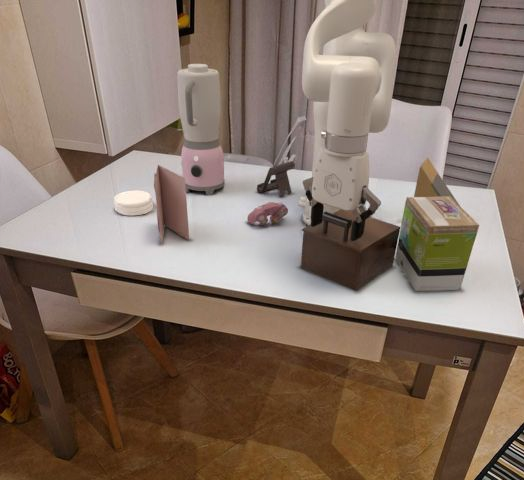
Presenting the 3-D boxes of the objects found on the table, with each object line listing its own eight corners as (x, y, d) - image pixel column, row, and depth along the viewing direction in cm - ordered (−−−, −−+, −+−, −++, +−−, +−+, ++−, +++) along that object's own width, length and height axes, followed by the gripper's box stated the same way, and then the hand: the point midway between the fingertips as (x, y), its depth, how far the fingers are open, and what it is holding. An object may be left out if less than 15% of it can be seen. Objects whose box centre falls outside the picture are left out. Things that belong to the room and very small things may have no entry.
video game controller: (251, 233, 127) (257, 214, 121) (244, 219, 128) (250, 200, 122) (285, 226, 130) (292, 207, 124) (278, 213, 132) (285, 194, 126)
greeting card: (161, 225, 126) (154, 164, 117) (190, 224, 127) (186, 164, 117) (157, 244, 117) (149, 181, 108) (189, 244, 118) (184, 180, 108)
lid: (361, 253, 96) (364, 228, 93) (301, 231, 103) (303, 207, 100) (400, 229, 105) (404, 206, 102) (342, 210, 112) (345, 189, 109)
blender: (191, 179, 154) (183, 60, 134) (229, 182, 152) (227, 63, 132) (173, 196, 142) (161, 69, 122) (214, 201, 140) (209, 72, 120)
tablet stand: (277, 185, 151) (278, 156, 146) (296, 191, 147) (298, 162, 142) (256, 192, 146) (257, 163, 141) (276, 199, 142) (277, 169, 136)
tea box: (392, 258, 113) (405, 195, 104) (435, 257, 114) (451, 194, 105) (414, 292, 102) (430, 224, 93) (461, 291, 102) (482, 223, 93)
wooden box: (356, 291, 102) (362, 252, 96) (300, 267, 109) (303, 230, 104) (392, 266, 110) (400, 229, 105) (338, 246, 118) (342, 211, 113)
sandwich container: (469, 236, 124) (486, 175, 115) (407, 224, 129) (419, 165, 120) (473, 224, 130) (490, 165, 121) (414, 213, 135) (427, 156, 126)
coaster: (108, 212, 132) (105, 199, 130) (129, 200, 139) (127, 187, 137) (140, 218, 129) (138, 205, 127) (160, 205, 136) (159, 193, 134)
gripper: (295, 137, 91) (290, 224, 102) (376, 157, 83) (362, 251, 93) (319, 129, 96) (312, 214, 106) (399, 148, 87) (382, 238, 97)
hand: (335, 231), depth 100 cm, fingers open, 9 cm apart
